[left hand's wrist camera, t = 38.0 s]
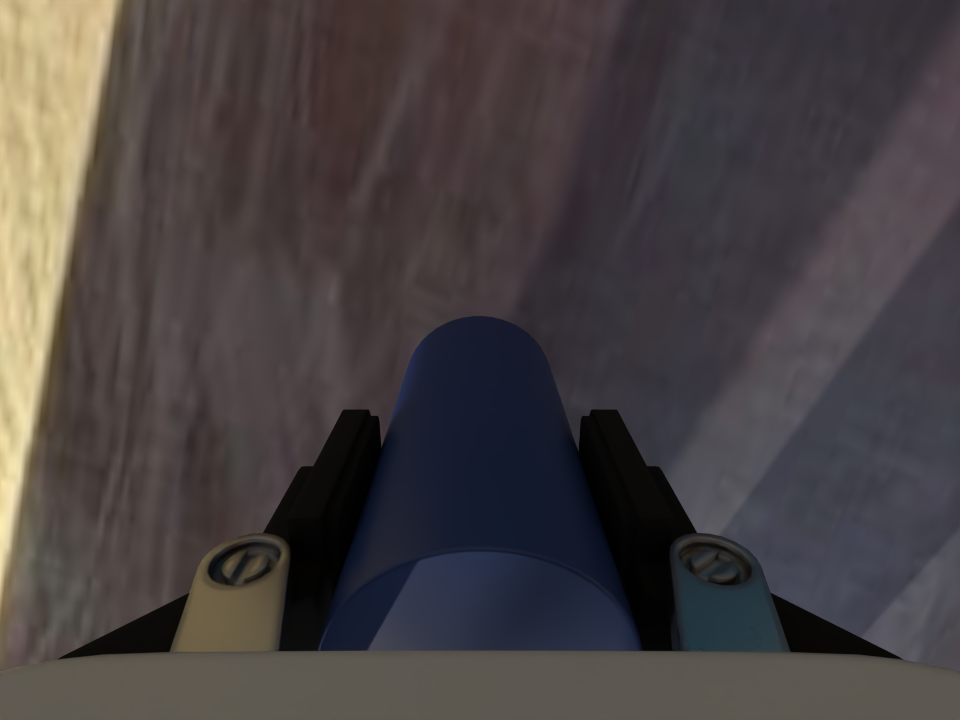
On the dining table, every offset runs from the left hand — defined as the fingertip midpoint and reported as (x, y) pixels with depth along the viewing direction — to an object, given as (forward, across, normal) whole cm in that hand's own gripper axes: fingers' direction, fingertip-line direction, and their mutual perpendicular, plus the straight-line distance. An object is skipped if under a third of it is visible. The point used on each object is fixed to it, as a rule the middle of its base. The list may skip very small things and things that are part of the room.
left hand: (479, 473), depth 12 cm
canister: (+5, 0, 0) cm, 5 cm away
